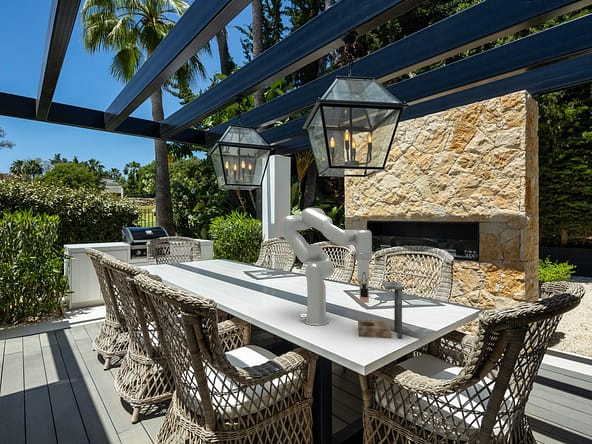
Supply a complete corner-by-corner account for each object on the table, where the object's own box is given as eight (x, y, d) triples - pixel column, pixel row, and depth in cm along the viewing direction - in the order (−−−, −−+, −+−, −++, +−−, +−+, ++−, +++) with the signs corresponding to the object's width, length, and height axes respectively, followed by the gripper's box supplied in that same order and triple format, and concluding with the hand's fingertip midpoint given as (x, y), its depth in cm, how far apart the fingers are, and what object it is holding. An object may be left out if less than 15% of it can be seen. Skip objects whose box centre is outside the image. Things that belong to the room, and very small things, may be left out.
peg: (359, 302, 152) (359, 280, 152) (359, 300, 156) (359, 279, 156) (368, 302, 152) (368, 281, 152) (368, 300, 156) (368, 279, 156)
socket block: (358, 336, 150) (358, 285, 150) (358, 327, 162) (358, 281, 162) (403, 339, 147) (403, 287, 147) (399, 330, 159) (399, 282, 159)
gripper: (355, 254, 163) (356, 292, 163) (355, 258, 147) (355, 299, 146) (371, 254, 161) (371, 292, 161) (372, 258, 145) (373, 300, 145)
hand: (364, 295), depth 154 cm, fingers closed on peg, 4 cm apart
